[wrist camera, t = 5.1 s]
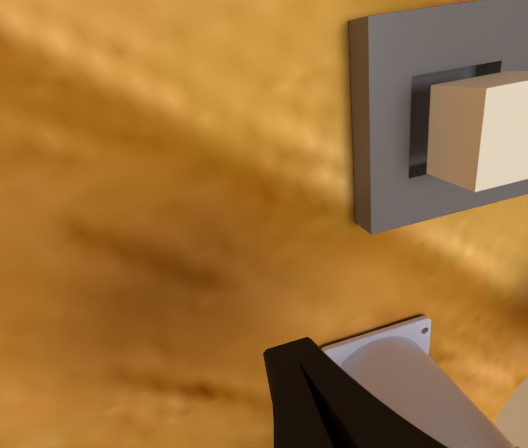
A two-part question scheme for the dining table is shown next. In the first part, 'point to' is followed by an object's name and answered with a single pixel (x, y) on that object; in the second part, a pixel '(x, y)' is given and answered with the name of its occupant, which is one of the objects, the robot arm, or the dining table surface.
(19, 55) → the dining table surface
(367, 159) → the button panel
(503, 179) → the cream button
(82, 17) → the dining table surface
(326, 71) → the dining table surface
